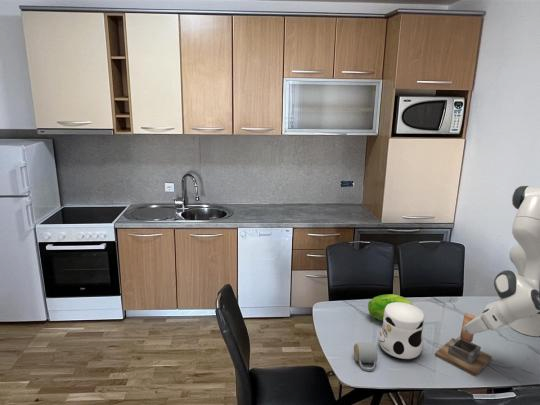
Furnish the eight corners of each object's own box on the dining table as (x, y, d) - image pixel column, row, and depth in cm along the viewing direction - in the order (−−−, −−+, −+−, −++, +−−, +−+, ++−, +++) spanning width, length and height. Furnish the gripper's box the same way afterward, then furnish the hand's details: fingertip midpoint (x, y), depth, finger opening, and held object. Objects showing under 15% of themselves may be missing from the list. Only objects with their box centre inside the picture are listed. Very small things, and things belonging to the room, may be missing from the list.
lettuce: (418, 324, 183) (421, 301, 180) (373, 328, 178) (376, 305, 175) (403, 309, 195) (406, 288, 192) (361, 313, 190) (363, 292, 187)
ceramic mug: (352, 354, 160) (353, 337, 157) (372, 354, 160) (374, 338, 158) (358, 372, 149) (360, 355, 147) (379, 372, 150) (381, 355, 147)
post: (462, 334, 160) (466, 312, 158) (474, 339, 157) (478, 317, 155) (458, 338, 157) (462, 316, 155) (469, 343, 154) (474, 321, 152)
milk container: (369, 342, 168) (373, 304, 163) (401, 334, 174) (406, 298, 170) (396, 367, 152) (401, 326, 148) (430, 358, 159) (436, 318, 154)
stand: (452, 340, 171) (454, 329, 169) (491, 359, 159) (493, 347, 158) (434, 355, 160) (436, 344, 159) (475, 376, 149) (477, 364, 147)
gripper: (502, 297, 155) (472, 309, 164) (482, 314, 141) (451, 326, 151) (512, 312, 152) (482, 323, 162) (493, 331, 139) (460, 342, 149)
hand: (466, 325), depth 156 cm, fingers closed on post, 4 cm apart
